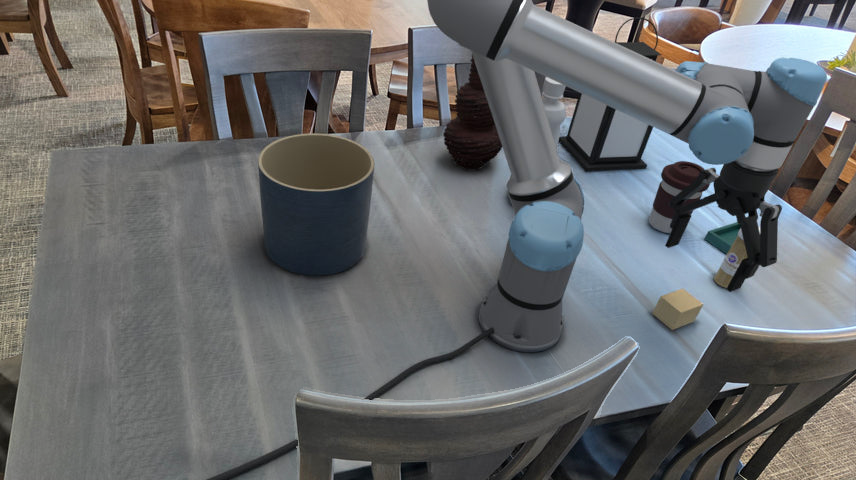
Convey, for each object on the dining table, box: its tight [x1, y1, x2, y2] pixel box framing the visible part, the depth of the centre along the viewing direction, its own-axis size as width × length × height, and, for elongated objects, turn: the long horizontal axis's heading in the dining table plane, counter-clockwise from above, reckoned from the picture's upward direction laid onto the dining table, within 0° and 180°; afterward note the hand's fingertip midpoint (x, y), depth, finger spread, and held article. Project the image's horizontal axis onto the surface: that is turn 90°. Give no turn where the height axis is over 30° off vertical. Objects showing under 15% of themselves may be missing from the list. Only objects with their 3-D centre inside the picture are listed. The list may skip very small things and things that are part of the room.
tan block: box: [652, 288, 704, 331], centre depth 120 cm, size 6×5×4 cm
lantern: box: [558, 17, 663, 173], centre depth 160 cm, size 17×17×35 cm
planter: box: [257, 133, 375, 277], centre depth 127 cm, size 22×22×20 cm
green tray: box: [704, 221, 741, 255], centre depth 140 cm, size 11×10×2 cm
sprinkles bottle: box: [713, 225, 760, 289], centre depth 126 cm, size 5×5×13 cm
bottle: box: [506, 76, 567, 204], centre depth 141 cm, size 9×9×30 cm
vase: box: [442, 54, 503, 171], centre depth 154 cm, size 15×15×30 cm
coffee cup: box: [648, 160, 711, 234], centre depth 141 cm, size 10×10×15 cm
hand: (701, 266), depth 113 cm, fingers open, 13 cm apart
